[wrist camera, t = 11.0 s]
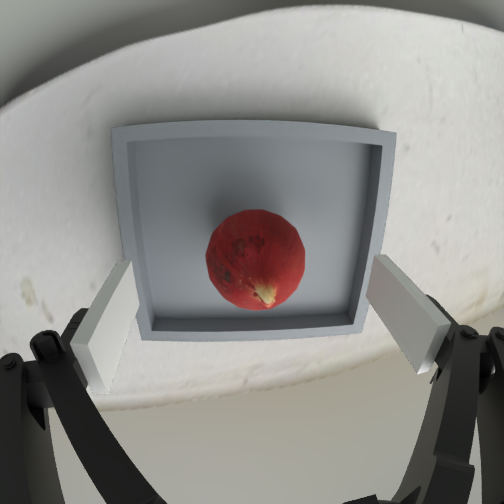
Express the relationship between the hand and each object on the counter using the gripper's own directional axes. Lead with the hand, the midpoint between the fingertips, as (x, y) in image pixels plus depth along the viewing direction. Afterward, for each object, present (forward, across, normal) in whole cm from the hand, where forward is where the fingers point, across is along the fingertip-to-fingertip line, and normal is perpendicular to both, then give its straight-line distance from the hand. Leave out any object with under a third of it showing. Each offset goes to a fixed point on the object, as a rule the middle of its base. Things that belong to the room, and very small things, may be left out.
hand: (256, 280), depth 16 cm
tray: (+7, 0, 0) cm, 7 cm away
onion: (+6, 0, 0) cm, 6 cm away
